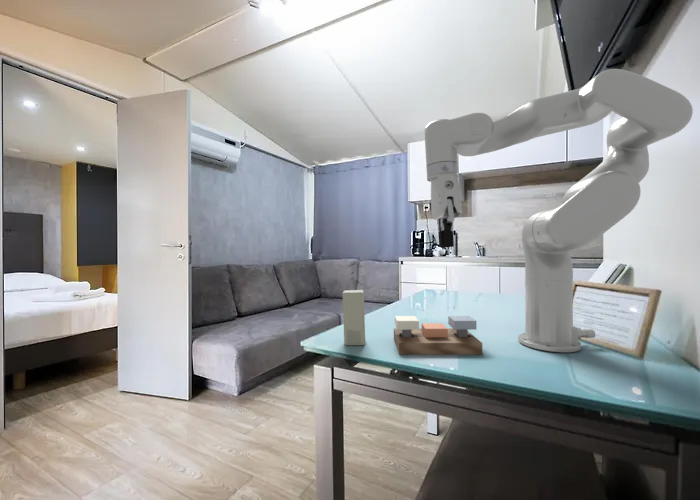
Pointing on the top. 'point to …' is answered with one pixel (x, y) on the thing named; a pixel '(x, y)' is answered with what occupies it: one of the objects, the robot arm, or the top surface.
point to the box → (353, 317)
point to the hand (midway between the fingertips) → (446, 247)
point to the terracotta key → (434, 330)
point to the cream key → (406, 324)
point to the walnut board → (436, 343)
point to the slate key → (462, 324)
